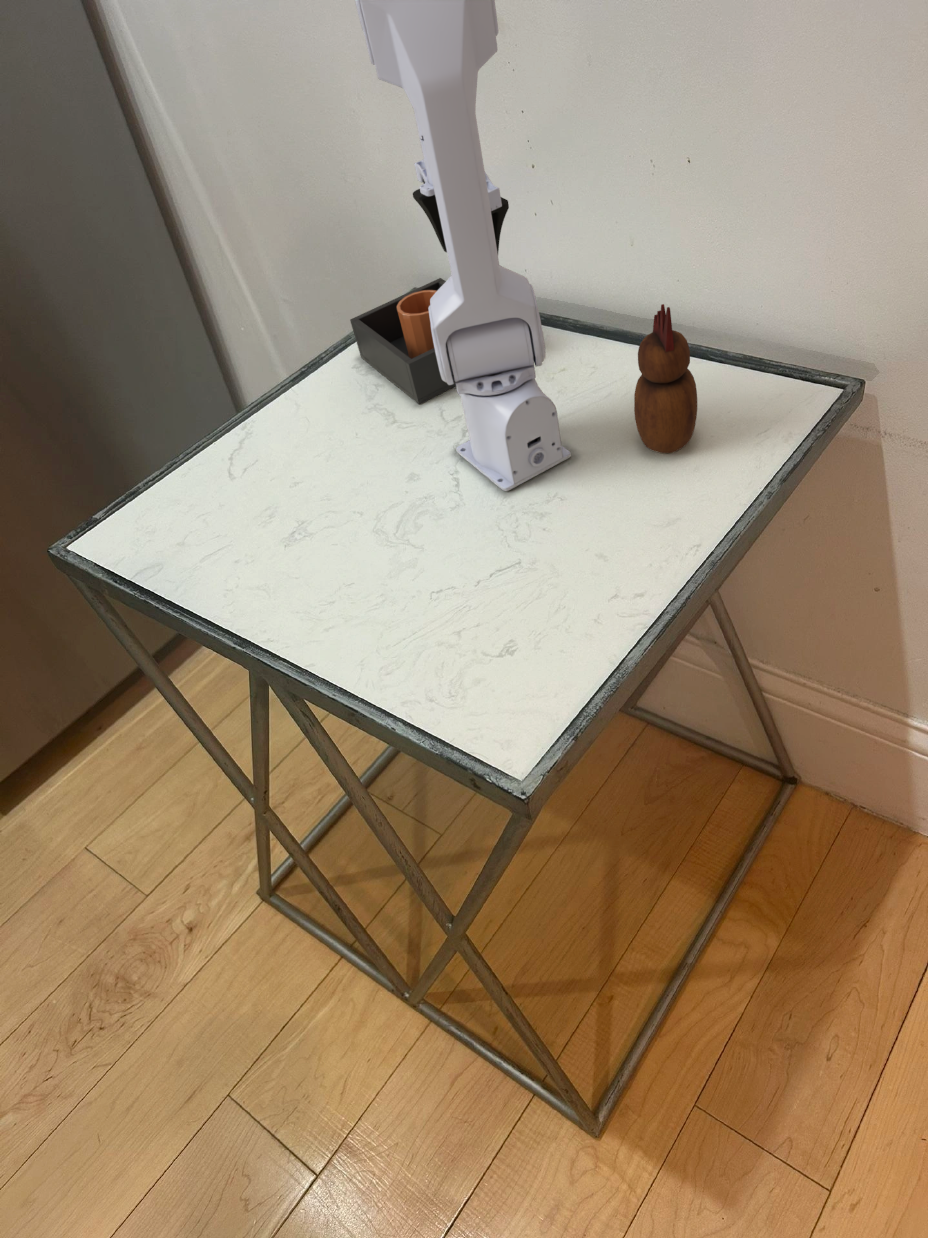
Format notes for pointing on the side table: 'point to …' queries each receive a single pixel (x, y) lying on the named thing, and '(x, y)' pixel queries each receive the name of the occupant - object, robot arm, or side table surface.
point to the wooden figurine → (665, 388)
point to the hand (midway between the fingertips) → (470, 258)
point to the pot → (416, 322)
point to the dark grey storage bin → (398, 350)
